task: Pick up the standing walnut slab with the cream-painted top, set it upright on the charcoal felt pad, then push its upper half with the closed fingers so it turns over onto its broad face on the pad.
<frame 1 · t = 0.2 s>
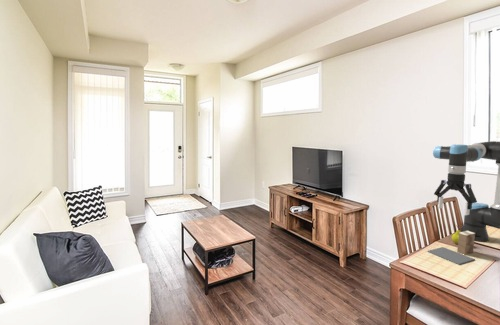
hand: (452, 211, 149), 27 cm above the table, fingers open, 13 cm apart
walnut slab: (465, 252, 160), on the table
felt pad: (450, 255, 155), on the table
fruit: (457, 244, 172), on the table
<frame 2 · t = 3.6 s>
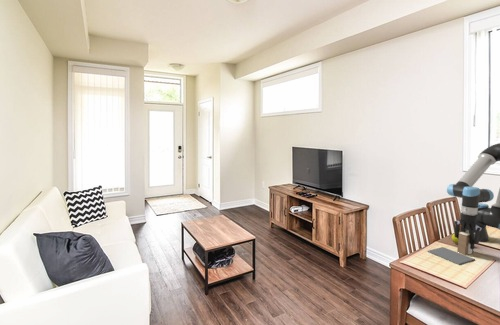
hand: (465, 251, 160), 0 cm above the table, fingers closed on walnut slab, 4 cm apart
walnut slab: (465, 252, 160), on the table, touching gripper
everything else where it was.
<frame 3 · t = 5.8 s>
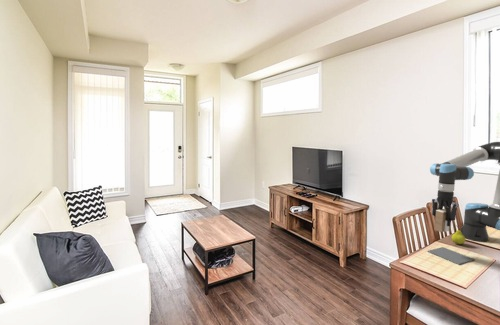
hand: (442, 229, 159), 14 cm above the table, fingers closed on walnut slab, 4 cm apart
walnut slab: (442, 230, 159), point 13 cm above the table, touching gripper
everything else where it was.
when the fingers open (2 cm above the table, at t = 8.1 s): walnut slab stays where it is, resting on felt pad.
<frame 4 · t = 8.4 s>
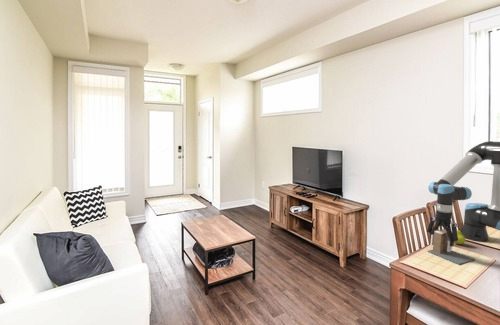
hand: (440, 247, 160), 2 cm above the table, fingers open, 9 cm apart
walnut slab: (440, 250, 160), point 1 cm above the table, touching felt pad
everything else where it was.
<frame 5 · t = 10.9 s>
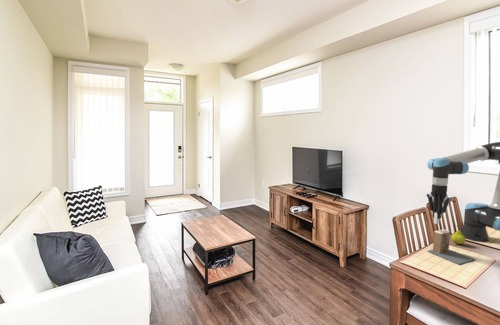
hand: (436, 223, 162), 16 cm above the table, fingers closed
nothing on the table moved.
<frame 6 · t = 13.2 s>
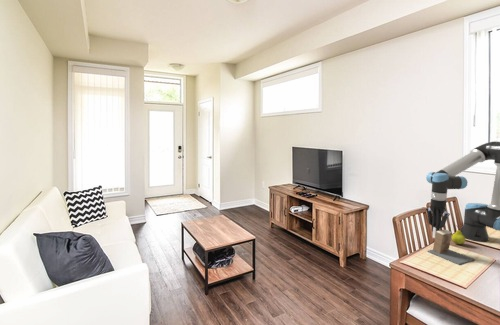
hand: (435, 237, 163), 7 cm above the table, fingers closed
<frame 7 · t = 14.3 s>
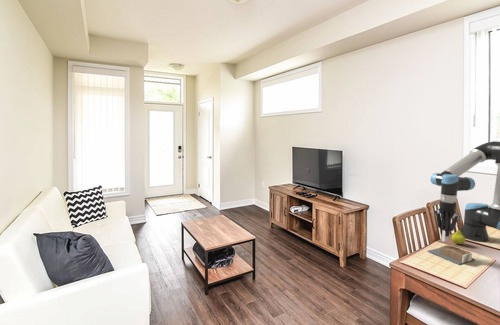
hand: (444, 240, 158), 7 cm above the table, fingers closed
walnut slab: (444, 249, 158), point 3 cm above the table, tilted 90°, touching felt pad
everything else where it was.
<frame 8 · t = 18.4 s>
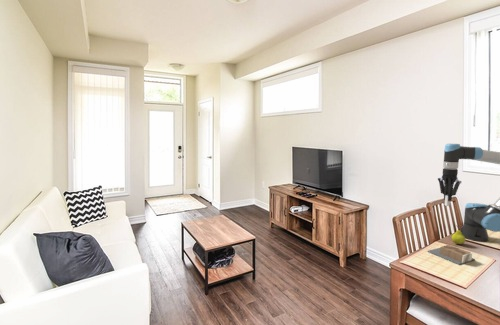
hand: (447, 205, 171), 24 cm above the table, fingers closed
nothing on the table moved.
at the end: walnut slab tilted 90°; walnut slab inside the target area (3.9 cm from its centre), point 2.6 cm above the table; the gripper is holding nothing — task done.
